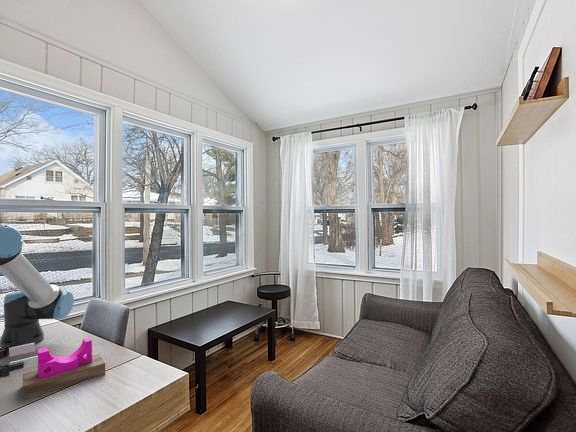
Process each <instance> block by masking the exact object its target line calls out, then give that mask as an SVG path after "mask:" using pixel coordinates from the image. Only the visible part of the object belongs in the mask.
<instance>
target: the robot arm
mask: <svg viewBox="0 0 576 432" xmlns="http://www.w3.org/2000/svg"><path fill="white" fill-rule="evenodd" d="M23 242H24V241H23V236H22V234H21V232H20V231H19V230H18V229H17V228H16V227H14V226H11V225H9V224H2V223H0V273H1V275H3V276H4V277H5V278H6V279H7V280H8V281H9V282H10V283H12V284H13V286H15V288H17V291H14V292H13V291H12V292H10V293H7V294H6V295H5V296H4V301H3V319H4V328H3V332H2V334H1V336H0V347H1V348H0V360H2V359H5V358H7V357H9V358H11V357H15V356H20V355H24V354H29V353H33V352H35V351H36V344H39V343H40V342H42V341H43V340H44V339H45V333H44V330H43V328H42V326H41V324H40V320H59V319H60V320H62V319H65V318H66V317H67V316H68V315H70V313H71V312H72V310H73V306H74V301H75V299H74V298H75V297H74V295H73V293H72V292H71V291H67V290H66V291H63V290H61V289H60V288H59V287H58V285H55V284H50V283H49V281H48V280H47V279H45V278H44V276H43V275H42V274H41V273H40V271H38V270H37V269H36V268H35V266H34V265H33V264H32V263H31V262H30V261H29V259H27V258H26V256H24V255H23V253H22V251H23V245H24V243H23ZM33 367H38V355H34V356H30V357H26V358H23V359H18V360H15V361H13V360H12V361H10V362H9V363H7V364H5V363H4V364H2V363H1V364H0V379H2V378H8V377H10V373H12V372H17V371H20V370H25V369H29V368H33Z"/></svg>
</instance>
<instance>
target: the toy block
mask: <svg viewBox="0 0 576 432" xmlns="http://www.w3.org/2000/svg"><path fill="white" fill-rule="evenodd" d="M36 354H37V356H38V365H37V370H38V375H39V378H40V379H42V378H46V377H49V376H53V375H56V374H60V373H63V372H66V371H70V370H73V369H77V368H78V365H81V364H84V363H88V362H91V361H92V356H93V340H92V339H91V337H85V338H83V339H82V341H81V344H80V346H79V348H77V350H75V351H74V352H73V353H70V354H69V355H65V356H57V355H54V354H52V353H51V352H50V350H49V348H48V346H47V347H44V348H43V347H42V348H39V349H37V353H36Z"/></svg>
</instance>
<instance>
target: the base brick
mask: <svg viewBox="0 0 576 432" xmlns="http://www.w3.org/2000/svg"><path fill="white" fill-rule="evenodd" d="M105 375H106V362H105V361H104V359H103V357H102V356H101V355H100V353H97V354H94V355H93V354H92V361H91V362H88V363H84V364H81V365H78V368H77V369H73V370H70V371H66V372H63V373H60V374H56V375H53V376H49V377H46V378H42V379H40V378H39V375H38V369H37V370H33V371H29V372H25V373H22V390H23V400H26V399H30V398H33V397H36V396H39V395H43V394H45V393H46V394H47V393H49V392H52V391H55V390H59V389H63V388H66V387H68V386H72V385H75V384H79V383H81V382H82V383H83V382H85V381H88V380H91V379H96V378H98V377H102V376H105Z"/></svg>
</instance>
